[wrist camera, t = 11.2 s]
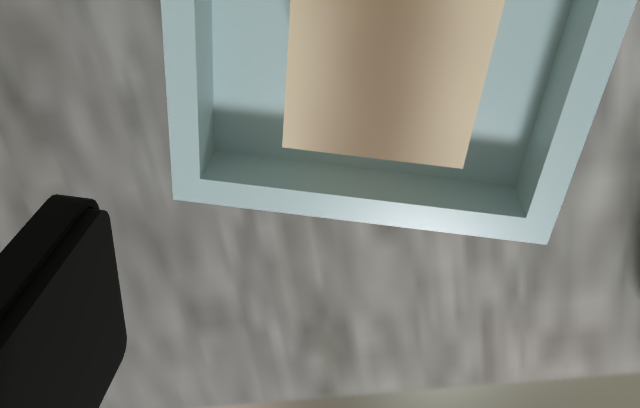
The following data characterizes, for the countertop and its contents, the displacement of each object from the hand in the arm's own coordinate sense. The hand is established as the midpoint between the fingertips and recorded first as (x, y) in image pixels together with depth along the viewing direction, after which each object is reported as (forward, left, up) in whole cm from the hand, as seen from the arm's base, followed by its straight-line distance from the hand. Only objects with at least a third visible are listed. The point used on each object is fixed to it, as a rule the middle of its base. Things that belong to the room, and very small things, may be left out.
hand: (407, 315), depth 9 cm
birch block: (0, 0, -17) cm, 17 cm away
